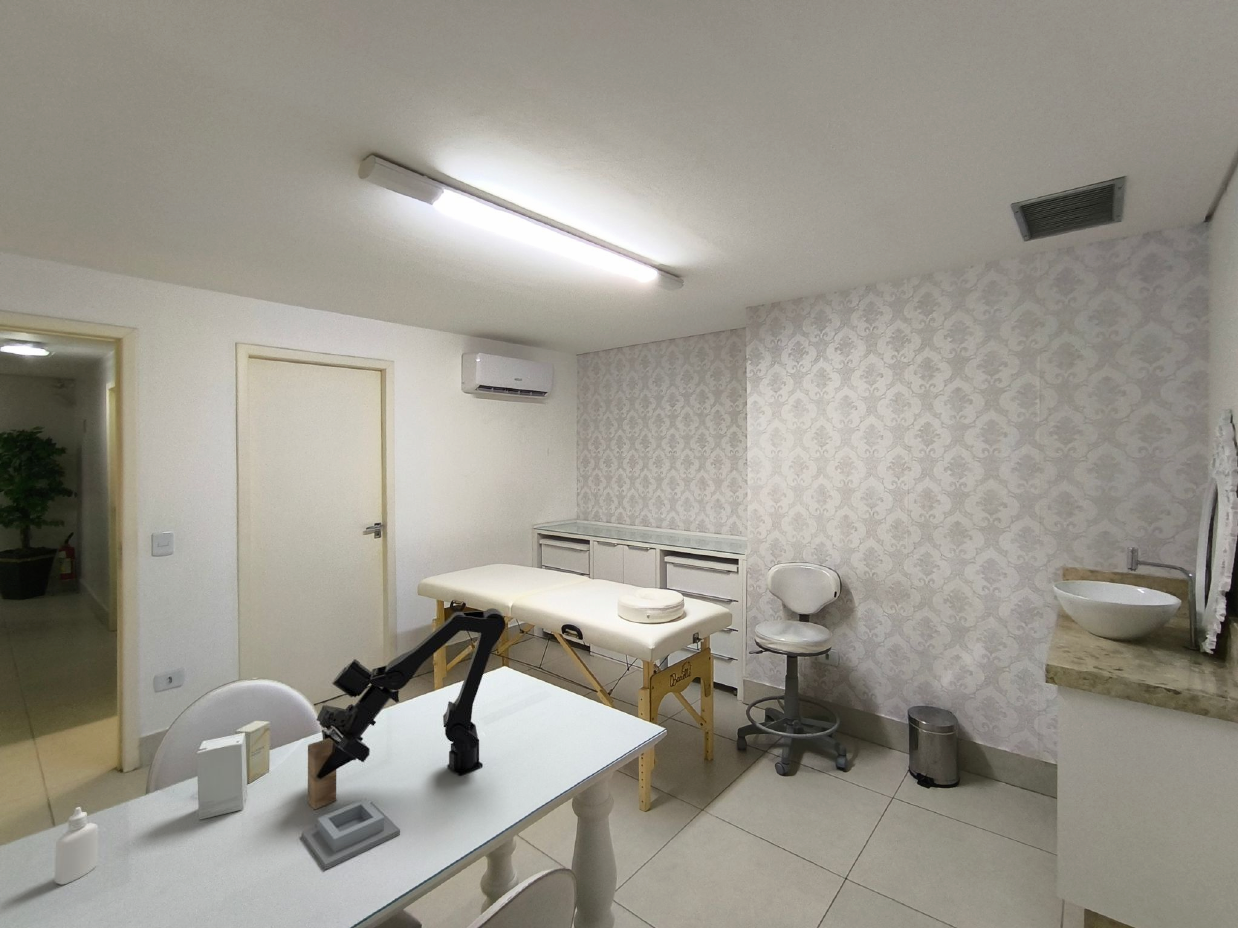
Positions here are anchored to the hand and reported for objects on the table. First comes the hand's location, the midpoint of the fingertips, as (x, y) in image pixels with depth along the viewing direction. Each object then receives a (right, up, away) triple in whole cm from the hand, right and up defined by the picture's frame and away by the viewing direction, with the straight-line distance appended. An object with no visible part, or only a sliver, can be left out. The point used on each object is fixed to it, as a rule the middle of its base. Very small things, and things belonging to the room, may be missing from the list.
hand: (315, 773), depth 123 cm
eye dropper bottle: (-32, -7, -22) cm, 39 cm away
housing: (+13, -6, -11) cm, 18 cm away
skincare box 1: (-19, -7, -2) cm, 21 cm away
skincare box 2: (-22, -8, +12) cm, 26 cm away
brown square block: (+1, -7, +1) cm, 7 cm away
